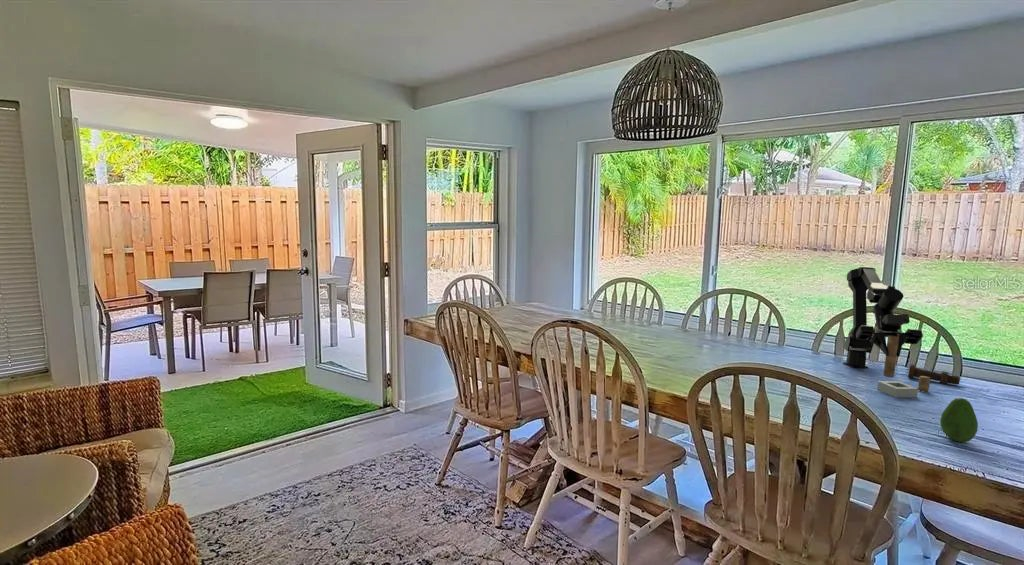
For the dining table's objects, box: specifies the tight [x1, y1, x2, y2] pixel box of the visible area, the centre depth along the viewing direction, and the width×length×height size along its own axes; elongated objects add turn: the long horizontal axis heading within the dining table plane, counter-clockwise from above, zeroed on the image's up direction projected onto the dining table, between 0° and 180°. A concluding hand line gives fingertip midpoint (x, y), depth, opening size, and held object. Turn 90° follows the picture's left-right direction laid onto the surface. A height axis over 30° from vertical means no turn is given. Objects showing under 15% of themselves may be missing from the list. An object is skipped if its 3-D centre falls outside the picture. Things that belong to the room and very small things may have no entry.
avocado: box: [939, 397, 979, 443], centre depth 150 cm, size 8×8×12 cm
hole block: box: [876, 380, 919, 399], centre depth 189 cm, size 8×8×3 cm
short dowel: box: [917, 376, 931, 393], centre depth 192 cm, size 3×3×5 cm
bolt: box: [907, 363, 961, 386], centre depth 203 cm, size 6×5×15 cm
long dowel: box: [882, 335, 899, 378], centre depth 188 cm, size 3×3×14 cm
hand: (892, 355), depth 186 cm, fingers closed on long dowel, 3 cm apart
